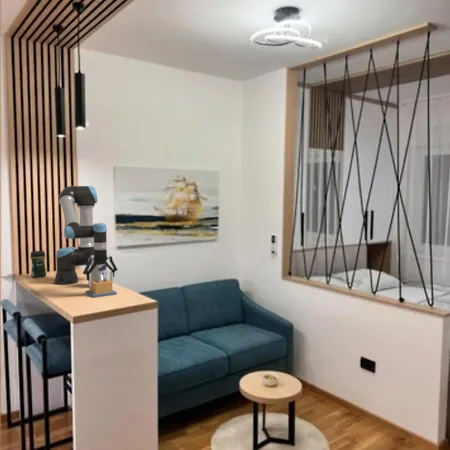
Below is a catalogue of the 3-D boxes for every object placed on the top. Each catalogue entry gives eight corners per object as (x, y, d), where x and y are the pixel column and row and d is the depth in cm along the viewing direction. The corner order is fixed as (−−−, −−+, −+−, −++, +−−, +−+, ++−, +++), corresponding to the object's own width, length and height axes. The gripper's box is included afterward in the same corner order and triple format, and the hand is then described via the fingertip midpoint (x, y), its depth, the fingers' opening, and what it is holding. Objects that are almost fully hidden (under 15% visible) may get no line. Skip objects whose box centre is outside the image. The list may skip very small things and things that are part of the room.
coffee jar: (43, 275, 311) (42, 249, 310) (47, 276, 305) (46, 251, 304) (29, 276, 305) (28, 251, 303) (33, 278, 299) (32, 252, 297)
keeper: (85, 293, 258) (85, 273, 257) (108, 289, 266) (107, 270, 265) (93, 297, 247) (93, 277, 246) (116, 294, 255) (116, 274, 254)
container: (102, 288, 270) (102, 257, 269) (88, 287, 272) (87, 256, 271) (110, 284, 280) (109, 254, 278) (96, 284, 282) (95, 254, 280)
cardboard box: (90, 290, 258) (89, 281, 257) (106, 288, 263) (105, 279, 263) (95, 294, 250) (95, 284, 249) (112, 291, 255) (112, 281, 255)
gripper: (81, 251, 244) (82, 288, 246) (122, 248, 259) (122, 282, 261) (77, 250, 250) (77, 285, 252) (117, 246, 265) (118, 280, 267)
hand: (100, 284), depth 256 cm, fingers open, 13 cm apart
